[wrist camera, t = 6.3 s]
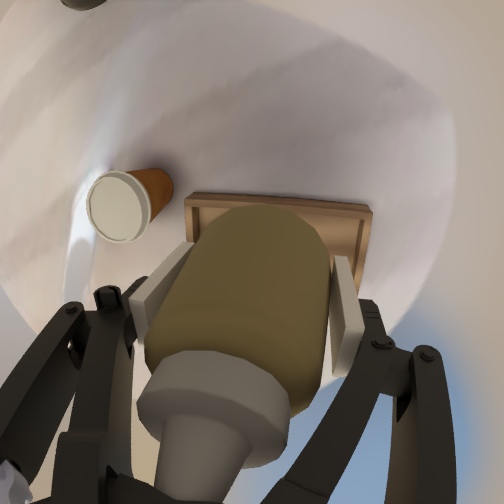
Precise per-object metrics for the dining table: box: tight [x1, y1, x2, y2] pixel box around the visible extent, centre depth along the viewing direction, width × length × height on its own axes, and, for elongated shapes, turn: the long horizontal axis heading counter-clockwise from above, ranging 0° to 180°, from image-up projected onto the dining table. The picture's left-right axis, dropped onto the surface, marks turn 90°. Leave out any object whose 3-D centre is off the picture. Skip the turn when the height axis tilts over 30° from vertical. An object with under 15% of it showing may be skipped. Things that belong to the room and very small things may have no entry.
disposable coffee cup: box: [86, 168, 173, 244], centre depth 39 cm, size 10×10×12 cm
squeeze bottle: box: [136, 204, 332, 503], centre depth 12 cm, size 8×8×18 cm
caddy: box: [184, 192, 373, 296], centre depth 43 cm, size 13×25×4 cm, turn 89°
